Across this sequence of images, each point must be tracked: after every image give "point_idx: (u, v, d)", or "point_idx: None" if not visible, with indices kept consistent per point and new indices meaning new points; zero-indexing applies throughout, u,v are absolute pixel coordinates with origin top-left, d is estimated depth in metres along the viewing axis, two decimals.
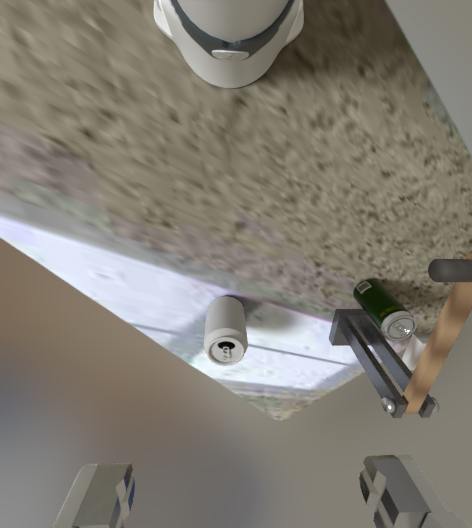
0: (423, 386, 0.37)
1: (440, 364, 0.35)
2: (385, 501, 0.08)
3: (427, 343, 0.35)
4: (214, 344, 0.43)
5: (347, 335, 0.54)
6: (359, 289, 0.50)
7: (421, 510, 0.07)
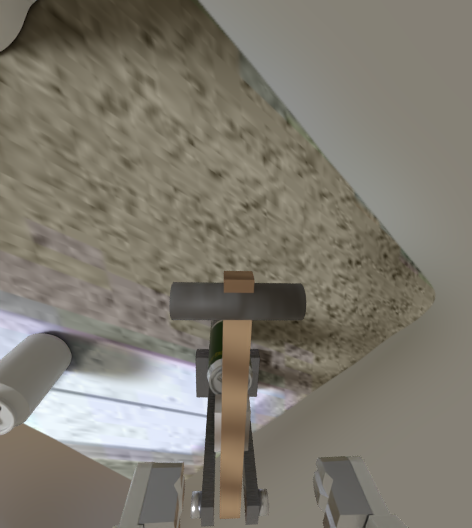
0: (229, 479, 0.24)
1: (240, 447, 0.23)
2: (331, 503, 0.08)
3: (221, 412, 0.23)
4: None
5: None
6: (212, 323, 0.39)
7: (363, 512, 0.07)
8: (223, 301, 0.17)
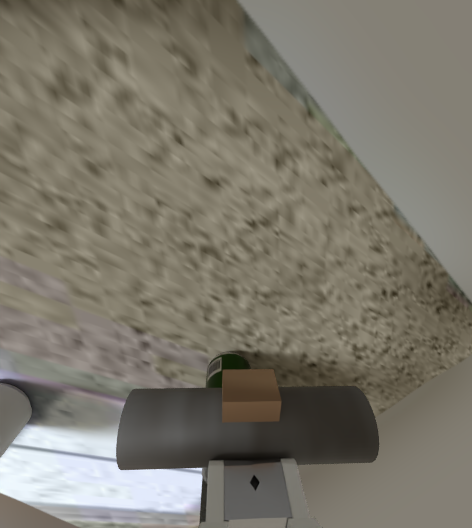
0: None
1: None
2: (255, 506, 0.08)
3: None
4: None
5: None
6: (208, 371, 0.30)
7: (282, 516, 0.07)
8: (221, 442, 0.09)
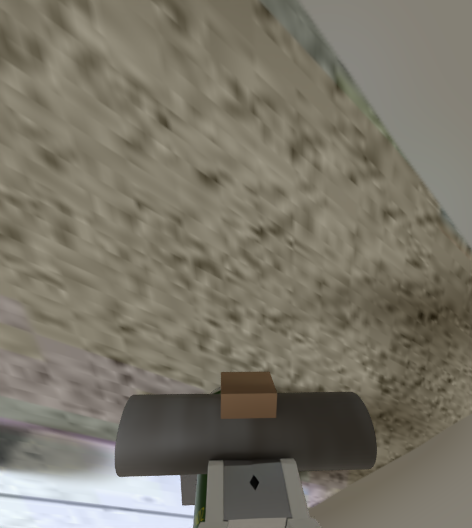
0: None
1: None
2: (255, 506, 0.08)
3: None
4: None
5: None
6: None
7: (281, 516, 0.07)
8: (220, 438, 0.09)
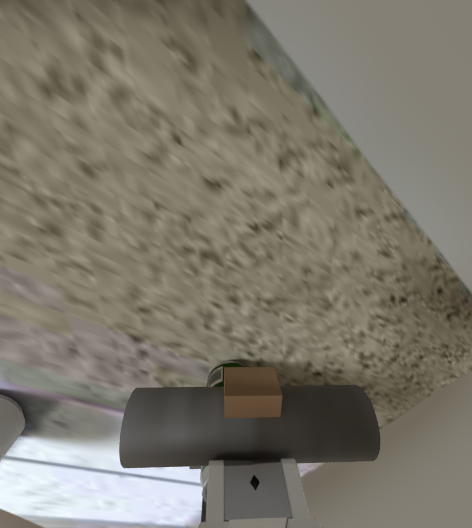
0: None
1: None
2: (255, 506, 0.08)
3: None
4: None
5: None
6: (209, 381, 0.29)
7: (282, 516, 0.07)
8: (223, 437, 0.09)
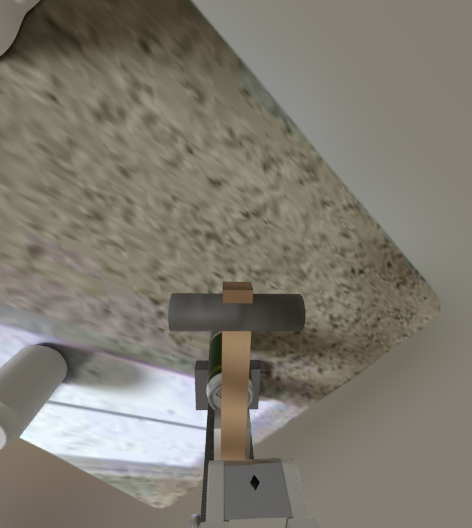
0: None
1: None
2: (255, 506, 0.08)
3: (221, 428, 0.22)
4: None
5: None
6: (212, 334, 0.38)
7: (282, 516, 0.07)
8: (222, 312, 0.17)
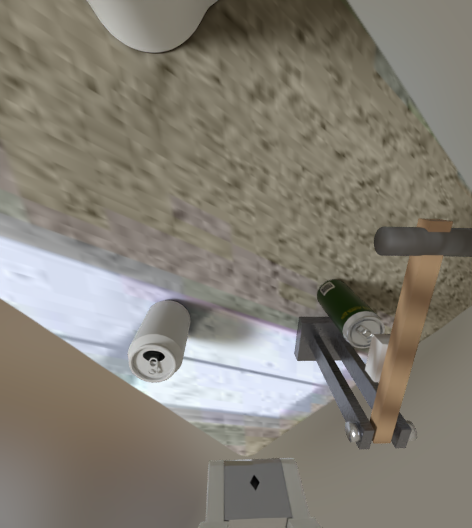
0: (391, 403, 0.29)
1: (407, 371, 0.28)
2: (255, 506, 0.08)
3: (389, 344, 0.28)
4: (138, 354, 0.35)
5: (313, 347, 0.46)
6: (322, 291, 0.43)
7: (282, 516, 0.07)
8: (429, 238, 0.23)
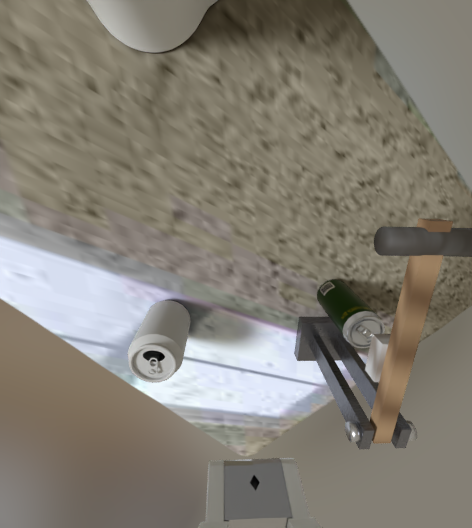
0: (391, 403, 0.29)
1: (408, 371, 0.28)
2: (255, 506, 0.08)
3: (389, 344, 0.28)
4: (138, 354, 0.35)
5: (313, 347, 0.46)
6: (322, 291, 0.43)
7: (282, 516, 0.07)
8: (429, 238, 0.23)
